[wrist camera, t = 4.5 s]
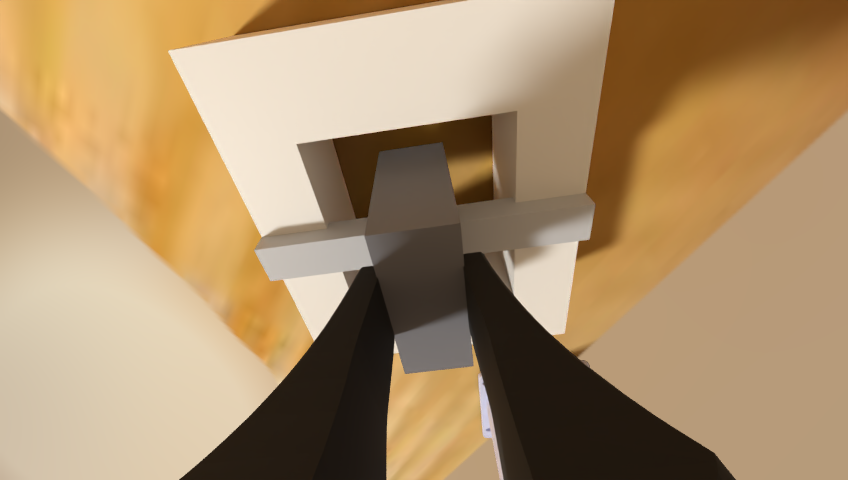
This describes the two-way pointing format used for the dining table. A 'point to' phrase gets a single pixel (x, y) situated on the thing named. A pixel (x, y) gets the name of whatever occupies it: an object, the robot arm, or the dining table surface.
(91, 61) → the dining table surface
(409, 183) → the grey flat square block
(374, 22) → the shallow white tray
